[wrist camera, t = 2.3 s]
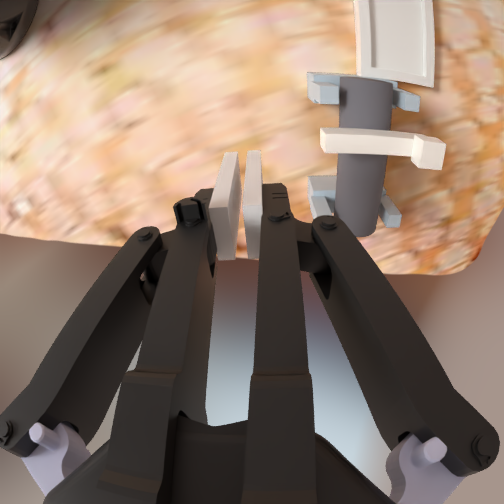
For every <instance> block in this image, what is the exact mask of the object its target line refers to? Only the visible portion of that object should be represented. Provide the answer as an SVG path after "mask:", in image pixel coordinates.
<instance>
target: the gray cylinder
mask: <svg viewBox="0 0 504 504" xmlns="http://www.w3.org/2000/svg"><path fill="white" fill-rule="evenodd" d="M392 97H393V83H390V82H386V81H381V80H375V79H369V78H361V77H345V76H343V77H340V113H339V128H356V129H374V130H387V131H390V126H391V114H392ZM386 163H387V155H381V154H353V153H338V165H337V181H336V194H335V206H334V216H335V217H338V218H340V219H341V220H342V221H344V223H345V224H346V225H347V226H348V228H349V229H350V230H351V232H352V233H353V234H354V235H355V237H366V236H369V235H371V234H372V233H374V231H375V229H376V224H377V219H378V214H379V208H380V203H381V197H382V191H383V184H384V178H385V171H386Z"/></svg>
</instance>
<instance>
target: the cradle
mask: <svg viewBox="0 0 504 504" xmlns="http://www.w3.org/2000/svg"><path fill="white" fill-rule="evenodd" d="M343 76H345V77H361V78H369V79H375V80H381V81H386V82H390V83H393V97H392V108H396V106H397V107H399V108H401V109H403V110H407V111H414V112H419V105H420V96H418V95H415V94H413V93H410V92H407V91H405V90H402V89H398V88H397V84H398V82H395V81H392V80H388V79H381V78H373V77H364V76H359V75H351V74H338V73H315V72H307V88H308V98H309V99H310V100H311V101H313V102H314V103H320V104H340V77H343ZM336 181H337V176H308V200H309V203H310V209H311V212H312V216H313V219H315V218H316V217H318V216H322V215H332V213H334V206H335V194H336ZM379 216H380V217H381V219H382V221H383V222H384V224H385V226H386V227H387V228H392V227H399V226H400V222H401V217H402V214H401V213H400V212H399V210H398V209H397V207H396V206H395V205H394V203H393V202H392V200H391V199H390V198H389V196H388V195H386V189H385V188H384V186H383V191H382V197H381V203H380V208H379Z"/></svg>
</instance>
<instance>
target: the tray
mask: <svg viewBox="0 0 504 504" xmlns="http://www.w3.org/2000/svg"><path fill="white" fill-rule="evenodd" d="M353 3H354V16H355V33H356V75H359V76H364V77H373V78H381V79H388V80H395V81H401V82H407V83H412V84H418V85H423V86H427V87H432V88H434V66H435V37H434V15H433V3H432V0H353Z"/></svg>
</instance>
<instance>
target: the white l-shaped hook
mask: <svg viewBox="0 0 504 504" xmlns="http://www.w3.org/2000/svg"><path fill="white" fill-rule="evenodd" d="M320 146H321V147H322V149H323V151H324V152H325V153H353V154H381V155H398V156H411V161H412V162H413V163H414V164H415V165H416V166H417V167H418V168H422V169H434V170H442V165H443V160H444V155H445V149H446V143H444V142H443V141H441V140H440V139H438V138H436V137H429V136H425V135H424V134H416V133H408V132H398V131H387V130H374V129H356V128H320Z"/></svg>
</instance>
